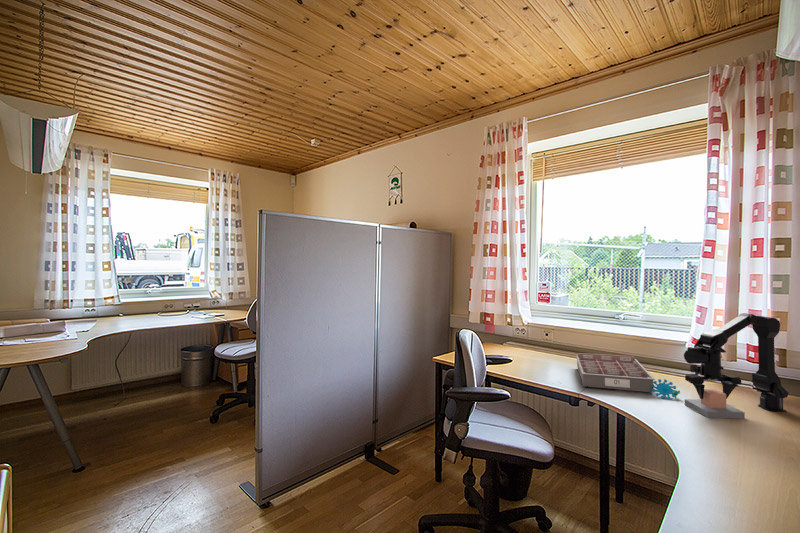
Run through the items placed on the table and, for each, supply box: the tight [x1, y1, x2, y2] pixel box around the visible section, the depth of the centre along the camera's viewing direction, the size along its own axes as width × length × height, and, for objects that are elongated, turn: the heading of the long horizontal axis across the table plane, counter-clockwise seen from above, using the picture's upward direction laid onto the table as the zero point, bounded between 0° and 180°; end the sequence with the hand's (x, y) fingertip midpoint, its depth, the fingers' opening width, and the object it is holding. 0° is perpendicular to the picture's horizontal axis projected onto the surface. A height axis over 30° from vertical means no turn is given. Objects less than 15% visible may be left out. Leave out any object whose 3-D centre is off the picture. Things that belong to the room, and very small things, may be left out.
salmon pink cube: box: [701, 388, 727, 408], centre depth 156 cm, size 6×6×6 cm
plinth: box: [684, 398, 746, 419], centre depth 157 cm, size 14×14×2 cm
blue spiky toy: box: [651, 378, 681, 400], centre depth 175 cm, size 11×6×10 cm
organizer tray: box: [575, 352, 656, 393], centre depth 201 cm, size 32×40×10 cm
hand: (713, 399), depth 157 cm, fingers open, 9 cm apart
